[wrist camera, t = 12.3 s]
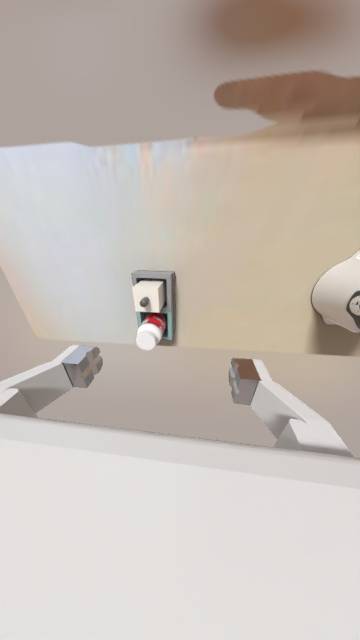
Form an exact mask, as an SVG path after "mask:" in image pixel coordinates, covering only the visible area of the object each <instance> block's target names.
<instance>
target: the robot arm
mask: <svg viewBox="0 0 360 640" xmlns="http://www.w3.org/2000/svg"><path fill="white" fill-rule="evenodd" d="M312 304H313V306H314V308H315V309H316V310H317V311H318V312H319V313H320V314H321V315H322V318H323V321H324V322H325V323H326V324H328V325H334V324H338V325H340V326H342V327H344V328H346V329H348V330H350V331H352V332H355V333H358V332H360V250H359V251H358V252H356V253H355V254H354V255H353V256H352V257H351V258H349V259H348V260H346V261H344V262H342V263H339V264H338V265H336V266H334V267H333V268H331V269H330V270H328V271H327V272H326V273H325V274H324V275H323V276H322V277H321V278H320V279H319V281H318V282H317V284H316V285H315V287H314V290H313V293H312ZM99 353H100V350H99V348H98V347H93V346H84V345H71V346H70V347H69V348H68V349H67V350H65V351H64V352H63V353H62V354H60V355H59V356H58V357H57V358H56V359H54V360H53V361H52V362H47V363H45V364H43V365H40V366H38V367H35V368H33V369H31V370H28V371H25V372H23V373H21V374H18V375H16V376H13V377H11V378H9V379H6V380H4V381H1V382H0V640H360V458H355V457H353V455H352V454H351V453H350V451H349V450H348V448H347V447H346V446H345V444H344V443H343V441H342V440H341V439H340V437H339V436H338V434H337V433H336V432H335V430H334V429H333V427H332V426H331V425H330V423H329V422H328V421H326V420H325V419H324V418H323V417H321V416H320V415H319V414H317V413H316V412H315V411H313V410H312V409H311V408H309V407H308V406H307V405H305V404H304V403H302V402H301V401H300V400H299V399H297V398H296V397H295V396H293V395H292V394H291V393H289V392H288V391H287V390H285V389H284V388H283V387H281V386H280V385H279V384H277V383H275V382H273V381H272V379H271V377H270V375H269V374H268V372H267V370H266V368H265V366H264V364H263V362H262V361H261V360H260V359H245V358H232V361H231V365H232V367H231V368H230V369H229V383H230V386H231V387H232V392H231V393H232V397H233V401H234V403H237V404H244V405H250V406H251V408H252V409H253V410H254V411H255V413H256V414H257V415H258V416H259V417H260V419H261V420H262V421H263V422H264V424H265V425H266V426H267V427H268V428H269V430H270V431H271V432H272V433H273V435H274V436H275V437H276V438H277V439H278V441H277V442H276V444H275V446H274V447H267V446H259V445H251V444H243V443H235V442H227V441H219V440H211V439H202V438H194V437H187V436H178V435H171V434H163V433H155V432H147V431H139V430H131V429H123V428H114V427H107V426H99V425H91V424H83V423H75V422H66V421H58V420H51V419H43V418H38V417H37V415H36V414H35V413H37V412H38V411H40V410H41V409H43V408H44V407H45V406H47V405H48V404H50V403H51V402H53V401H54V400H56V399H57V398H58V397H60V396H61V395H63V394H64V393H66V392H67V391H69V390H70V389H72V388H73V387H82V388H87V387H88V386H89V384H90V383H91V382H92V380H93V379H94V375H95V374H97V373H99V371H100V370H101V367H102V365H103V362H102V358H101V357H100V356H99Z"/></svg>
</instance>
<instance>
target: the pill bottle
mask: <svg viewBox="0 0 360 640" xmlns="http://www.w3.org/2000/svg"><path fill="white" fill-rule="evenodd" d="M166 325H167V319H166V317H165V316H164V315H163V314H162V313H149V314H148V315H147V317H146V318H145V320H144V321H143V323H142V324H141V325H140V327H139V328H138V331H137V338H136V343H137V345H138V346H139V347H140V348H142V349H144V350H151V349H153V348H154V347H155V345H156V344H157V343H159V342H160V340H161V338H162V335H163V333H164V330H165V328H166Z"/></svg>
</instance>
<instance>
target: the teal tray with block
mask: <svg viewBox="0 0 360 640" xmlns="http://www.w3.org/2000/svg"><path fill="white" fill-rule="evenodd" d="M131 275H132V282H133V287H132V290H133V297H134V305H135V311H136V313H137V320H138V328H139V327H140V325H141V324H142V323H143V321H144V320H145V318H146V317H147V315H148V314H149V313H162V314H163V315H164V316H165V317H166V319H167V325H166V328H165V330H164V333H163V335H162V338H161V339H163V340H172V337H173V334H174V332H175V272H173V271H141V270H137V271H135V272H133V273H131Z"/></svg>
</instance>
